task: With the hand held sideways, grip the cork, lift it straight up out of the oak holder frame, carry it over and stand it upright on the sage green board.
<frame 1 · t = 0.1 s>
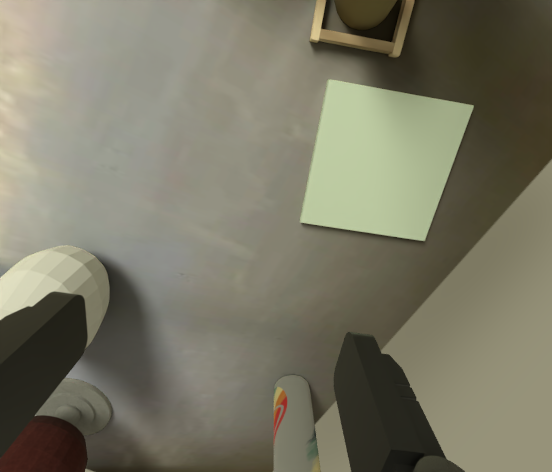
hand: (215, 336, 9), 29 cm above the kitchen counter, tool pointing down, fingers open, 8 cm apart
lotion bottle: (291, 386, 49), on the kitchen counter
soap bottle: (81, 284, 42), on the kitchen counter
sage board: (378, 166, 36), on the kitchen counter
mate gourd: (79, 407, 51), on the kitchen counter
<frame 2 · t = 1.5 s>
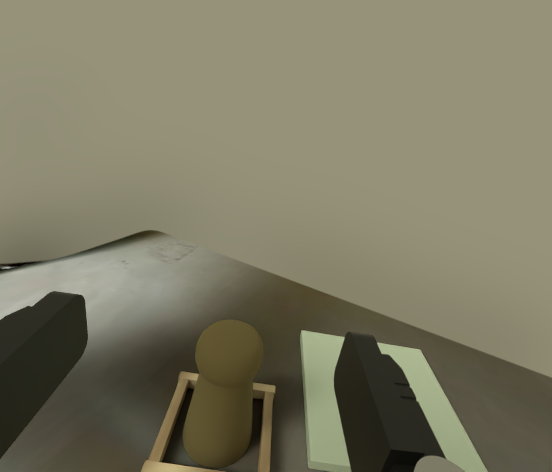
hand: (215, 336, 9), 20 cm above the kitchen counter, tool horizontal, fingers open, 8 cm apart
cork: (217, 432, 27), resting in oak holder frame
oak holder frame: (217, 430, 27), on the kitchen counter
sage board: (375, 398, 33), on the kitchen counter
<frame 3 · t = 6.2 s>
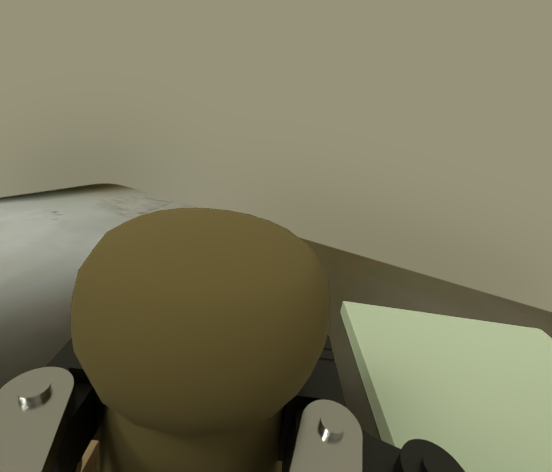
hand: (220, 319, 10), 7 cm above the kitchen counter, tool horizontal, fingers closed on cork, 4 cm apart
sage board: (511, 420, 17), on the kitchen counter
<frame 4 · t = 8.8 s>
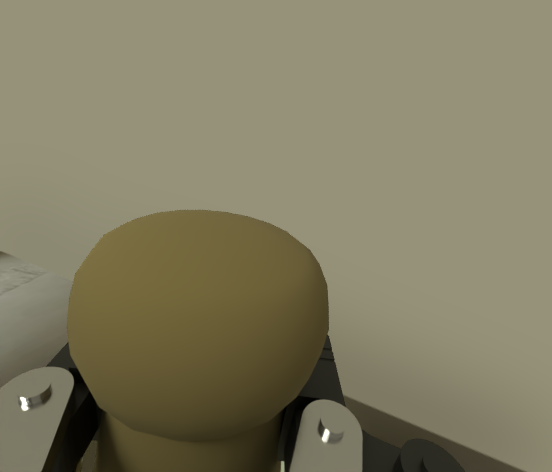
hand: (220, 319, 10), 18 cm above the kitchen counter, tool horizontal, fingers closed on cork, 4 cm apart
when the fingers open (9 cm above the kitchen counter, at t = 11.6 s): cork moves 2 cm, resting on sage board.
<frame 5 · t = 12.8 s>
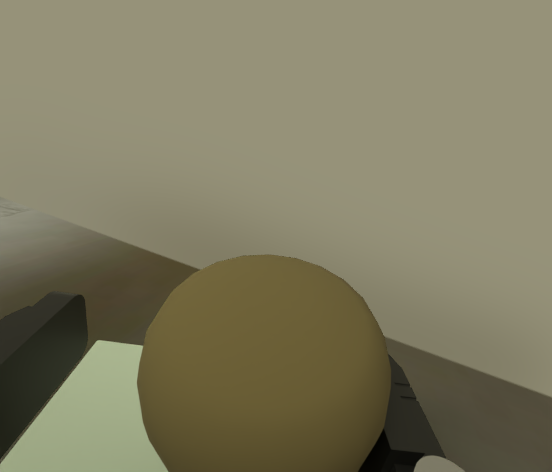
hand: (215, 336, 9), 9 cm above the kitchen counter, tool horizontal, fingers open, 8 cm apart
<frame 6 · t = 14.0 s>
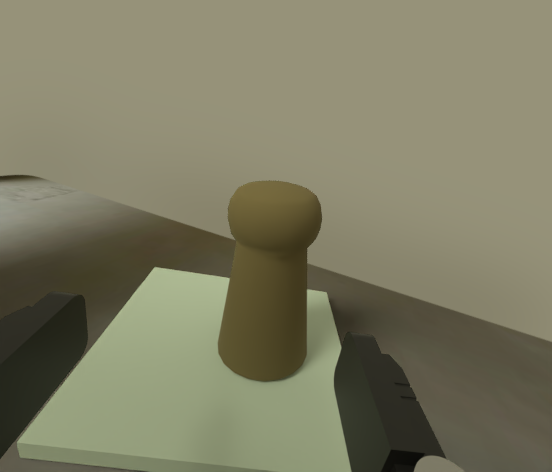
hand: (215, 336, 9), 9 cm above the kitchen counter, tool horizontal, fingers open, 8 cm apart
cork: (262, 346, 21), point 1 cm above the kitchen counter, touching sage board
sage board: (227, 350, 21), on the kitchen counter
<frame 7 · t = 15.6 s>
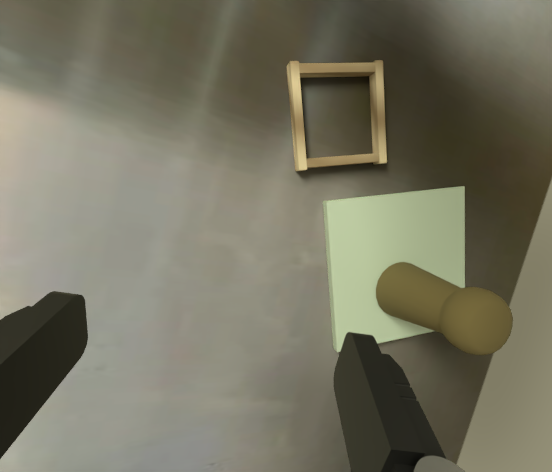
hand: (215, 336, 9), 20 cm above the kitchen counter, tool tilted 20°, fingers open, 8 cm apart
cork: (399, 289, 33), point 1 cm above the kitchen counter, touching sage board
oak holder frame: (336, 117, 30), on the kitchen counter
sage board: (396, 266, 34), on the kitchen counter
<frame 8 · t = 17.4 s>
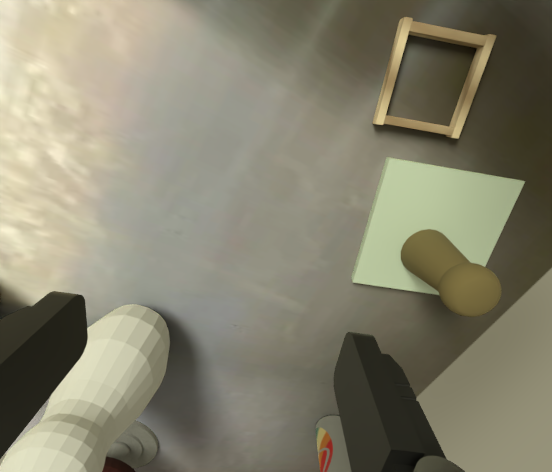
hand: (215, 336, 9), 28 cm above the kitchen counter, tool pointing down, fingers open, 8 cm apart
cork: (424, 251, 38), point 1 cm above the kitchen counter, touching sage board
lotion bottle: (331, 425, 52), on the kitchen counter
soap bottle: (138, 333, 45), on the kitchen counter
oak holder frame: (427, 82, 32), on the kitchen counter
sage board: (429, 232, 38), on the kitchen counter
mate gourd: (127, 442, 53), on the kitchen counter
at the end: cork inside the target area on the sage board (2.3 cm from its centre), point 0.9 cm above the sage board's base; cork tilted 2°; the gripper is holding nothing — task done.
